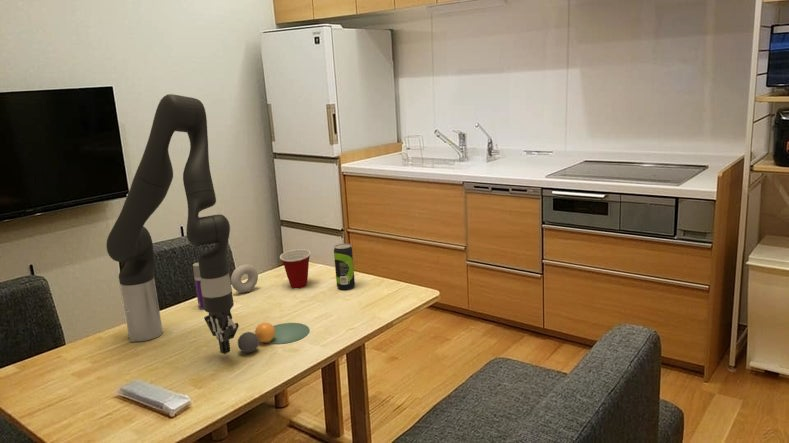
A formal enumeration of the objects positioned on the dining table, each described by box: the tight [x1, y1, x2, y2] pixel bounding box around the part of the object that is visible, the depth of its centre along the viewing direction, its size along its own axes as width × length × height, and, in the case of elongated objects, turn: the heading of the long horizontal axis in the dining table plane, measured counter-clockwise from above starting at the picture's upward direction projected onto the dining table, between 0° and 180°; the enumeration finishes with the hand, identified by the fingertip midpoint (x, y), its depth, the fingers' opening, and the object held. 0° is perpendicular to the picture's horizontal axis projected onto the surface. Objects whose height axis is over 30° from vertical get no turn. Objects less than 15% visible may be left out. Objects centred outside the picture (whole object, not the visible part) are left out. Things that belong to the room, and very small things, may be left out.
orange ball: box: [254, 322, 275, 344], centre depth 169 cm, size 6×6×6 cm
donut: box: [230, 263, 259, 294], centre depth 209 cm, size 10×4×10 cm, turn 133°
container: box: [192, 262, 205, 311], centre depth 196 cm, size 5×5×15 cm
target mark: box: [266, 322, 310, 345], centre depth 174 cm, size 14×14×1 cm
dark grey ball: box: [237, 331, 260, 354], centre depth 163 cm, size 6×6×6 cm
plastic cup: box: [279, 248, 312, 289], centre depth 211 cm, size 11×11×12 cm
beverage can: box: [333, 243, 356, 291], centre depth 207 cm, size 6×6×15 cm
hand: (225, 352), depth 161 cm, fingers closed
